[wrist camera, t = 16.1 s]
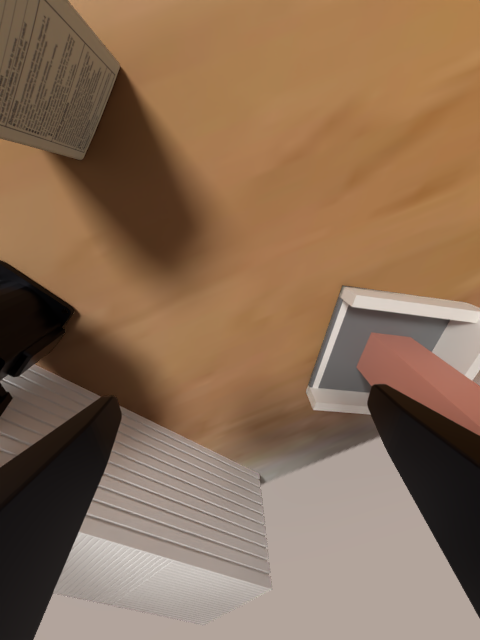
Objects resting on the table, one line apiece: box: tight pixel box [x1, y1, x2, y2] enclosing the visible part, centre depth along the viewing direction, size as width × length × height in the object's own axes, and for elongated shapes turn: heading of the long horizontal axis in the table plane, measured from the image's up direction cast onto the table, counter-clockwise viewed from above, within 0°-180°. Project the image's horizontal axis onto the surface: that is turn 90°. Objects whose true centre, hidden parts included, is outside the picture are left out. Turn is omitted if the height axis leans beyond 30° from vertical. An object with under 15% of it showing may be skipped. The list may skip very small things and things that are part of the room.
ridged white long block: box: [0, 364, 272, 625], centre depth 23 cm, size 32×11×11 cm, turn 51°
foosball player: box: [357, 332, 480, 436], centre depth 17 cm, size 4×4×14 cm
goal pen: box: [306, 285, 480, 415], centre depth 22 cm, size 12×12×4 cm
